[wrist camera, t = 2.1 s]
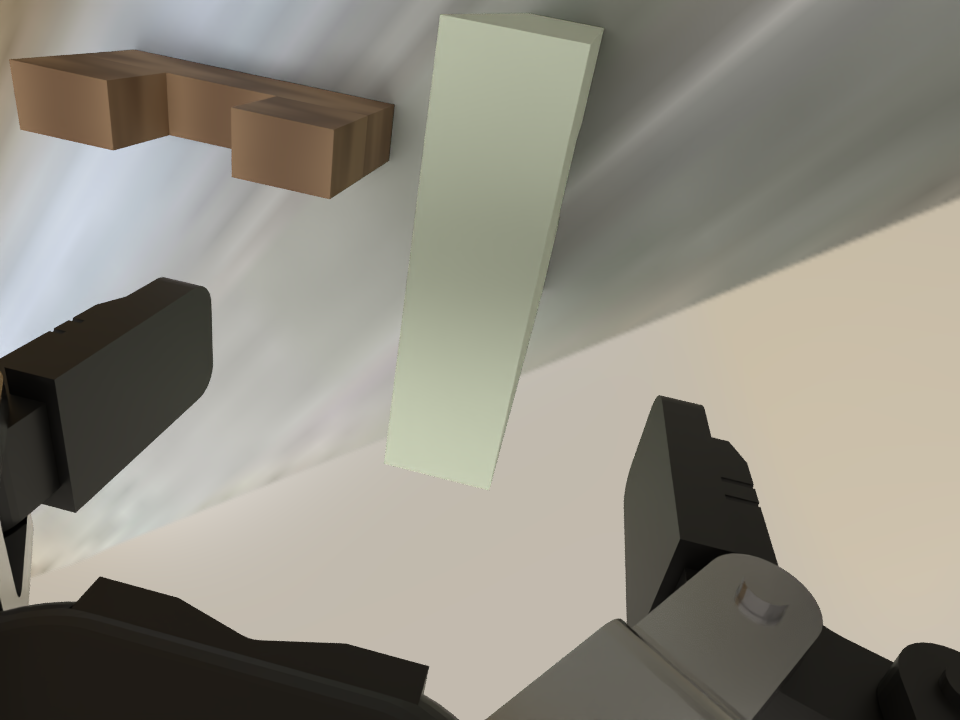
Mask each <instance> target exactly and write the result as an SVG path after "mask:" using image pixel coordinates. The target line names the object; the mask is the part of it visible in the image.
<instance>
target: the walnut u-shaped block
mask: <svg viewBox="0 0 960 720" xmlns="http://www.w3.org/2000/svg"><path fill="white" fill-rule="evenodd" d="M9 61H10V67H11V73H12V80H13V86H14V92H15V98H16V105H17V111H18V117H19V123H20V129H21V130H25V131H29V132H34V133H38V134H43V135H47V136H52V137H56V138H61V139H65V140H69V141H74V142H78V143H83V144H87V145H92V146H96V147H101V148H105V149H109V150H117V149H120V148H124V147H127V146H131V145H135V144H138V143H142V142H146V141H149V140H153V139H157V138H160V137H164V136H168V135H172V136H176V137H181V138H185V139H190V140H194V141H199V142H203V143H208V144H213V145H217V146H222V147H226V148H231V149H232V177H234V178H238V179H243V180H247V181H252V182H256V183H261V184H265V185H269V186H274V187H278V188H283V189H287V190H292V191H296V192H301V193H305V194H309V195H314V196H318V197H323V198H327V199H331V198H332V197H334V196H335V195H337V194H338V193H340V192H342V191H343V190H345V189H346V188H348V187H349V186H351V185H352V184H354V183H355V182H357V181H358V180H360V179H362V178H363V177H365V176H366V175H368V174H369V173H371V172H372V171H374V170H375V169H377V168H378V167H380V166H382V165H383V164H385V163H386V162H388V161H389V153H390V144H391V134H392V124H393V114H394V104H389V103H384V102H379V101H375V100H370V99H365V98H361V97H356V96H351V95H346V94H342V93H337V92H332V91H327V90H323V89H318V88H313V87H309V86H304V85H299V84H294V83H290V82H285V81H280V80H275V79H271V78H266V77H261V76H257V75H252V74H247V73H242V72H238V71H233V70H228V69H224V68H219V67H214V66H209V65H205V64H200V63H195V62H190V61H186V60H181V59H176V58H172V57H167V56H162V55H157V54H153V53H148V52H143V51H139V50H125V51H112V52H99V53H86V54H73V55H60V56H47V57H35V58H22V59H9Z"/></svg>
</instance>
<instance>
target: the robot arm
mask: <svg viewBox="0 0 960 720" xmlns="http://www.w3.org/2000/svg"><path fill="white" fill-rule="evenodd" d="M212 369H213V349H212V310H211V297H210V294H209V292H208V290H207V289H206V288H205V287H203V286H199V285H195V284H190V283H186V282H182V281H178V280H173V279H169V278H164V277H161V278H158V279H156V280H154V281H153V282H151V283H149V284H147V285H146V286H144V287H142V288H140V289H139V290H137V291H135V292H133V293H132V294H130V295H128V296H127V297H123V298H119V299H116V300H112V301H108V302H105V303H101V304H97V305H95V306H93V307H91V308H90V309H88V310H86V311H84V312H82V313H81V314H79V315H77V316H75V317H74V318H73V320H72V321H69V320H68V321H66V322H65V323H63V324H61V325H59V326H57V327H56V328H54V331H53V332H50V331H49V332H47V333H45V334H43V335H41V336H40V337H38V338H36V339H34V340H32V341H31V342H29V343H27V344H25V345H23V346H22V347H20V348H18V349H16V350H15V351H13V352H11V353H9V354H7V355H6V356H4V357H2V358H0V720H459V719H457V718H456V717H455V716H454V715H453V714H452V713H450V712H449V711H448V710H446V709H445V708H444V707H442V706H441V705H440V704H438V703H437V702H435V701H433V700H432V699H430V698H428V697H427V696H425V695H423V694H424V689H425V684H426V679H427V674H428V669H429V666H426V665H422V664H418V663H415V662H411V661H408V660H404V659H400V658H397V657H393V656H389V655H386V654H382V653H378V652H375V651H371V650H367V649H363V648H360V647H356V646H353V645H349V644H342V643H315V642H289V641H262V640H253V639H250V638H247V637H245V636H243V635H241V634H239V633H237V632H236V631H234V630H232V629H231V628H229V627H227V626H225V625H224V624H222V623H220V622H219V621H217V620H215V619H213V618H212V617H210V616H208V615H207V614H205V613H203V612H201V611H200V610H198V609H196V608H195V607H193V606H191V605H190V604H188V603H186V602H184V601H183V600H181V599H179V598H177V597H173V596H169V595H166V594H162V593H158V592H155V591H151V590H147V589H144V588H140V587H136V586H132V585H129V584H125V583H122V582H118V581H114V580H111V579H107V578H103V577H99V578H98V579H97V580H96V581H95V582H94V583H93V584H92V586H91V587H90V588H89V589H88V590H87V591H86V592H85V593H84V595H82V596H81V598H80V599H79V600H78V601H77V602H54V603H43V604H35V605H29V591H30V576H31V561H32V546H33V531H34V529H33V522H32V517H31V512H32V511H33V510H35V509H36V508H37V507H38V506H39V505H40V504H44V505H48V506H52V507H56V508H59V509H63V510H67V511H71V512H74V513H76V512H77V511H78V510H79V509H80V508H81V507H83V506H84V505H85V504H86V503H87V502H88V501H89V500H90V499H91V498H92V497H93V496H94V495H95V494H97V493H98V492H99V491H100V490H101V489H102V488H103V487H104V486H105V485H106V484H107V483H108V482H109V481H111V480H112V479H113V478H114V477H115V476H116V475H117V474H118V473H119V472H120V471H121V470H122V469H124V468H125V467H126V466H127V465H128V464H129V463H130V462H131V461H132V460H133V459H134V458H135V457H136V456H138V455H139V454H140V453H141V452H142V451H143V450H144V449H145V448H146V447H147V446H148V445H149V444H151V443H152V442H153V441H154V440H155V439H156V438H157V437H158V436H159V435H160V434H161V433H162V432H163V431H165V430H166V429H167V428H168V427H169V426H170V425H171V424H172V423H173V422H174V421H175V420H176V419H178V418H179V417H180V416H181V415H182V414H183V413H184V412H185V411H186V410H187V409H188V408H189V407H190V406H192V405H193V404H194V403H195V402H196V401H197V400H198V399H199V398H200V397H201V396H202V395H203V393H204V392H205V390H206V388H207V386H208V384H209V381H210V378H211V374H212ZM758 504H759V501H758V498H757V495H756V491H755V489H753V481H752V478H751V474H750V471H749V468H748V465H747V462H746V461H745V460H744V459H743V458H742V457H741V456H740V454H739V453H738V452H737V451H736V450H735V448H734V447H733V446H732V445H731V444H730V442H728V441H725V440H720V439H716V438H712V437H711V434H710V430H709V426H708V422H707V417H706V414H705V409H704V407H703V406H702V405H698V404H694V403H690V402H686V401H681V400H677V399H673V398H669V397H664V396H660V395H659V396H657V398H656V399H655V401H654V403H653V406H652V408H651V411H650V414H649V416H648V419H647V422H646V425H645V428H644V431H643V434H642V437H641V439H640V442H639V445H638V448H637V451H636V453H635V456H634V459H633V462H632V465H631V468H630V471H629V475H628V478H627V483H626V488H625V495H624V529H625V567H626V607H627V623H625V622H624V621H623V620H622V619H614V620H612V621H610V622H609V623H607V624H605V625H604V626H603V627H601V628H600V629H599V630H598V631H596V632H595V633H594V634H593V635H591V636H590V637H589V638H588V639H586V640H585V641H584V642H583V643H581V644H580V645H579V646H578V647H576V648H575V649H574V650H572V651H571V652H570V653H569V654H567V655H566V656H565V657H564V658H562V659H561V660H560V661H559V662H558V663H556V664H555V665H554V666H552V667H551V668H550V669H549V670H547V671H546V672H545V673H544V674H543V675H541V676H540V677H539V678H537V679H536V680H535V681H533V682H532V683H531V684H530V685H529V686H527V687H526V688H525V689H523V690H522V691H521V692H520V693H518V694H517V695H516V696H515V697H513V698H512V699H511V700H510V701H508V702H507V703H506V704H505V705H503V706H502V707H501V708H499V709H498V710H497V711H496V712H495V713H493V714H492V715H491V716H489V717H488V718H487V719H486V720H960V652H958V651H956V650H953V649H951V648H948V647H945V646H941V645H937V644H933V643H914V644H911V645H908V646H907V647H905V648H904V649H903V650H902V652H901V653H900V654H899V656H898V657H897V658H896V660H895V661H894V662H892V661H890V660H888V659H885V658H884V657H882V656H879V655H878V654H876V653H874V652H871V651H869V650H867V649H865V648H863V647H861V646H859V645H857V644H855V643H853V642H851V641H849V640H847V639H845V638H843V637H842V636H840V635H838V634H836V633H834V632H833V631H831V630H829V629H828V628H826V627H825V626H823V620H822V614H821V611H820V608H819V606H818V604H817V602H816V600H815V599H814V597H813V596H812V594H811V593H810V592H809V591H808V590H807V589H806V587H805V586H804V585H803V584H802V583H801V582H799V581H798V580H797V579H796V578H795V577H794V576H792V575H791V574H790V573H788V572H787V571H785V570H784V569H782V568H780V567H779V566H778V563H777V560H776V557H775V553H774V550H773V547H772V544H771V541H770V537H769V534H768V530H767V527H766V524H765V521H764V517H763V514H762V511H761V508H760V507H758Z"/></svg>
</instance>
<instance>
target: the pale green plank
mask: <svg viewBox="0 0 960 720" xmlns="http://www.w3.org/2000/svg"><path fill="white" fill-rule="evenodd" d="M603 31H604V28H601V27H596V26H591V25H586V24H581V23H576V22H570V21H565V20H560V19H555V18H550V17H545V16H540V15H535V14H530V13H513V14H440V20H439V28H438V36H437V44H436V52H435V60H434V68H433V76H432V84H431V92H430V100H429V108H428V116H427V124H426V132H425V140H424V148H423V156H422V164H421V172H420V180H419V188H418V196H417V204H416V212H415V220H414V228H413V236H412V244H411V252H410V260H409V268H408V276H407V284H406V292H405V300H404V308H403V316H402V324H401V332H400V339H399V347H398V355H397V363H396V371H395V379H394V387H393V395H392V403H391V411H390V419H389V427H388V435H387V443H386V452H385V459H384V464H387V465H391V466H395V467H399V468H403V469H407V470H411V471H415V472H419V473H423V474H427V475H430V476H434V477H438V478H442V479H446V480H450V481H454V482H458V483H462V484H466V485H470V486H474V487H477V488H481V489H485V490H489V489H490V486H491V482H492V477H493V474H494V471H495V467H496V463H497V459H498V456H499V452H500V448H501V444H502V441H503V437H504V433H505V429H506V426H507V422H508V418H509V415H510V411H511V407H512V403H513V400H514V396H515V392H516V388H517V385H518V381H519V377H520V374H521V370H522V366H523V362H524V359H525V355H526V351H527V348H528V344H529V340H530V336H531V333H532V329H533V325H534V321H535V318H536V314H537V310H538V306H539V303H540V299H541V295H542V292H543V287H544V283H545V279H546V275H547V270H548V266H549V262H550V257H551V253H552V249H553V245H554V240H555V236H556V232H557V228H558V223H559V219H560V217H559V214H560V209H561V205H562V201H563V196H564V192H565V188H566V184H567V179H568V175H569V171H570V166H571V162H572V158H573V154H574V149H575V145H576V141H577V137H578V134H579V131H580V128H581V125H582V121H583V117H584V112H585V108H586V104H587V100H588V95H589V91H590V87H591V82H592V78H593V74H594V70H595V65H596V61H597V57H598V53H599V48H600V44H601V40H602V35H603Z"/></svg>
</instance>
